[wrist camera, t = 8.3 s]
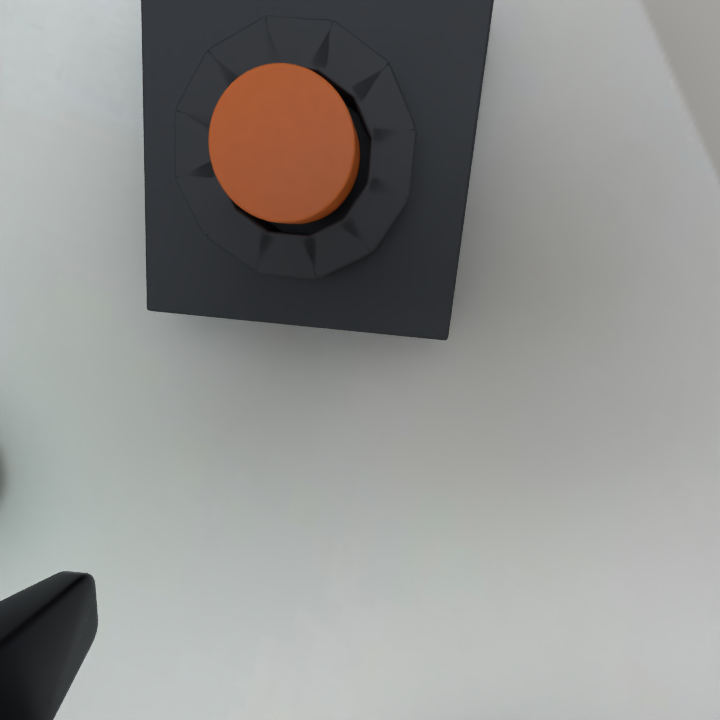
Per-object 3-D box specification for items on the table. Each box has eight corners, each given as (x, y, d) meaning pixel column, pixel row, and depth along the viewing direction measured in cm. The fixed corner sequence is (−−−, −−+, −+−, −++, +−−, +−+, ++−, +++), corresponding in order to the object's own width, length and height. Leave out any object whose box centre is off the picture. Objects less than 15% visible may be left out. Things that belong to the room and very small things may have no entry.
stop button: (366, 89, 13) (362, 68, 11) (354, 229, 14) (349, 229, 12) (231, 78, 13) (208, 55, 12) (229, 218, 14) (206, 216, 13)
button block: (482, 17, 16) (511, -53, 12) (441, 328, 18) (454, 354, 14) (172, -5, 16) (102, -80, 12) (174, 302, 19) (116, 319, 15)
